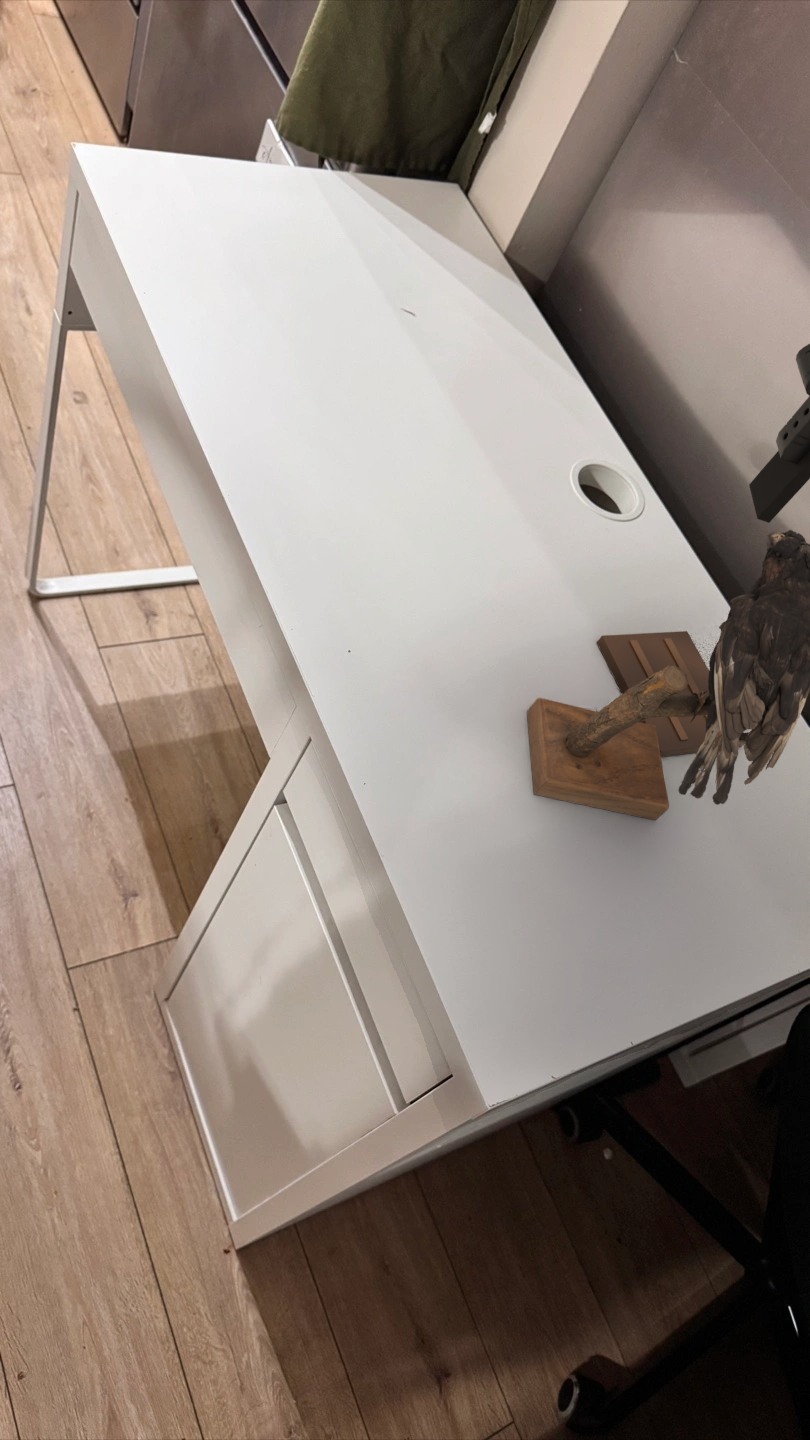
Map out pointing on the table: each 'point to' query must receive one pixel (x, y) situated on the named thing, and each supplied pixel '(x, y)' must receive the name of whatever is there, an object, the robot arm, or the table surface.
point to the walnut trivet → (651, 654)
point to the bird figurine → (691, 704)
